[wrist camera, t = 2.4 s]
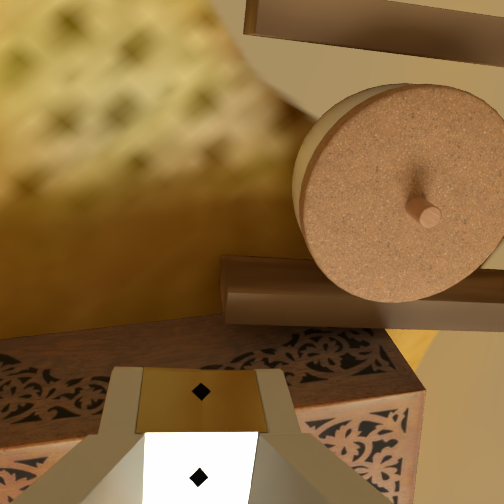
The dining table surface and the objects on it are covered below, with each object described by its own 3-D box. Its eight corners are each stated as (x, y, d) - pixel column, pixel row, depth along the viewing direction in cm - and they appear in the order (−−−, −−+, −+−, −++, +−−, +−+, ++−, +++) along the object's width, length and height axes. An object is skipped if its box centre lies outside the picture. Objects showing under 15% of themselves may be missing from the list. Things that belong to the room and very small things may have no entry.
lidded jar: (380, 269, 33) (448, 350, 24) (243, 203, 30) (266, 270, 21) (477, 127, 30) (595, 164, 21) (335, 36, 26) (406, 35, 18)
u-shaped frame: (247, -8, 25) (260, -18, 20) (642, 48, 29) (727, 50, 24) (219, 282, 32) (224, 323, 27) (543, 296, 35) (595, 334, 31)
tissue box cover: (34, 493, 37) (-15, 639, 28) (-21, 339, 31) (-103, 462, 22) (355, 447, 40) (405, 568, 31) (361, 295, 34) (426, 390, 25)
